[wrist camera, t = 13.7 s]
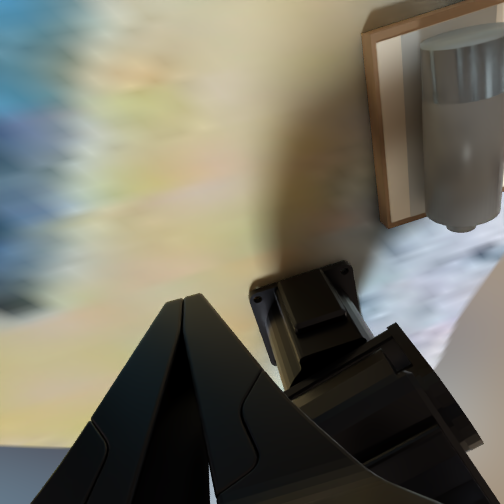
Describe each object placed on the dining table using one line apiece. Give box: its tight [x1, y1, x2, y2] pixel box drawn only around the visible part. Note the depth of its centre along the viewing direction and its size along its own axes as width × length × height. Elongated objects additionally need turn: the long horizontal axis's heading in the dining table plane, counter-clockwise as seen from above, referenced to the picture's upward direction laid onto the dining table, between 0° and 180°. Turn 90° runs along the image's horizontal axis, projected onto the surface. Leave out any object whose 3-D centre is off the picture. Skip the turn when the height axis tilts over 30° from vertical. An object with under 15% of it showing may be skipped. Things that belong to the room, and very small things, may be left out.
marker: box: [420, 22, 504, 233], centre depth 18 cm, size 9×3×3 cm, turn 15°
